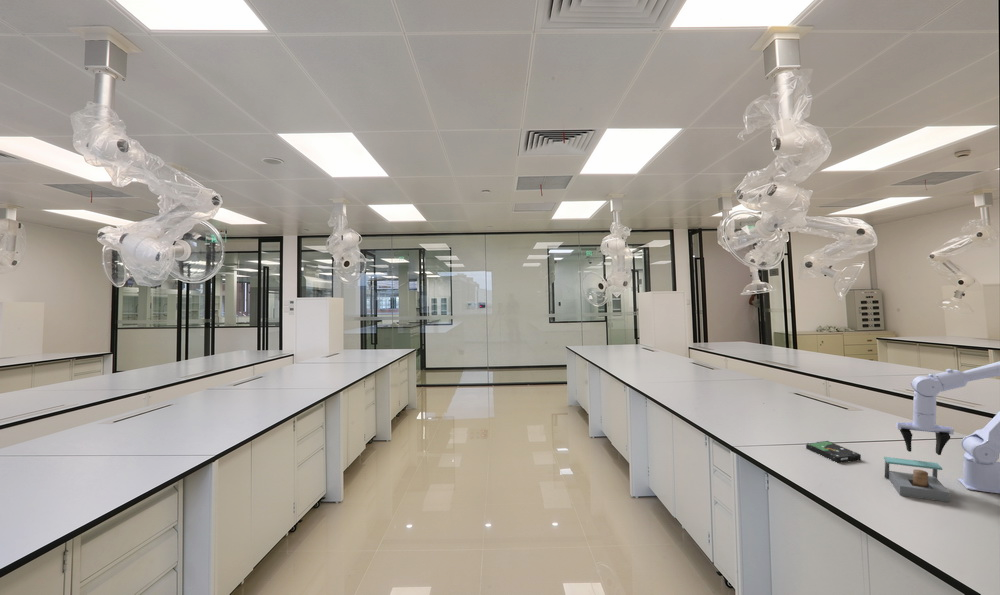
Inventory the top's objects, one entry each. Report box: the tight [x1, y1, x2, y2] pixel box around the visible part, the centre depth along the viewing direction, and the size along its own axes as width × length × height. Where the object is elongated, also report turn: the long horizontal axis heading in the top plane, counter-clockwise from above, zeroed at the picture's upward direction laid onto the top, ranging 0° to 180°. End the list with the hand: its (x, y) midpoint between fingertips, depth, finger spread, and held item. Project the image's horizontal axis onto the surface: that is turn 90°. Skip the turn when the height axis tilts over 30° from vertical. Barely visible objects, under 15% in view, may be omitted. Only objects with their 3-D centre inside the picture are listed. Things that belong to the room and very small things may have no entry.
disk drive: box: [805, 440, 862, 464], centre depth 184 cm, size 10×3×15 cm
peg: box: [912, 469, 929, 488], centre depth 152 cm, size 4×4×7 cm
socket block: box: [888, 470, 951, 503], centre depth 154 cm, size 12×12×3 cm
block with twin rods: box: [883, 456, 943, 479], centre depth 159 cm, size 14×4×7 cm, turn 64°
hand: (923, 452), depth 161 cm, fingers open, 7 cm apart
